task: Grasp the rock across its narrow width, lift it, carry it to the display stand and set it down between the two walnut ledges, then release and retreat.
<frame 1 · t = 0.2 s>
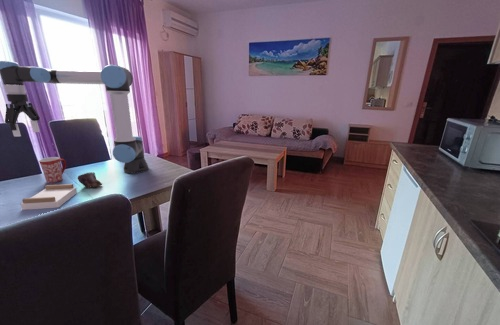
hand: (27, 134, 122), 28 cm above the table, fingers open, 13 cm apart
rock: (90, 186, 125), on the table
mug: (58, 180, 133), on the table
display stand: (52, 200, 108), on the table
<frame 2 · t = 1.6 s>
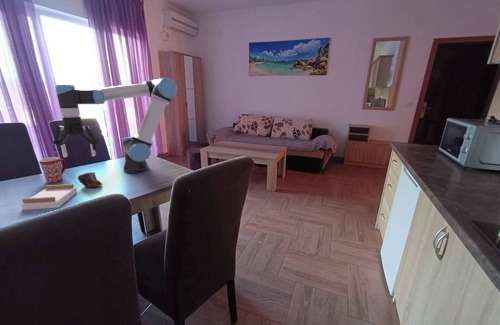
hand: (80, 156, 120), 17 cm above the table, fingers open, 13 cm apart
nothing on the table moved.
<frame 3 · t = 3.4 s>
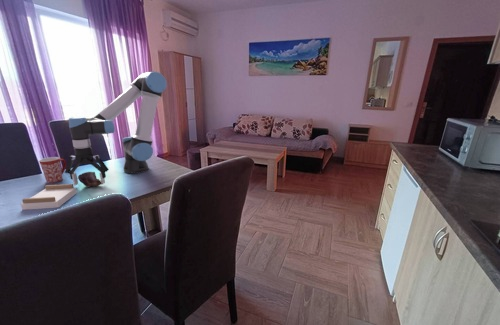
hand: (89, 184, 124), 1 cm above the table, fingers open, 13 cm apart
nothing on the table moved.
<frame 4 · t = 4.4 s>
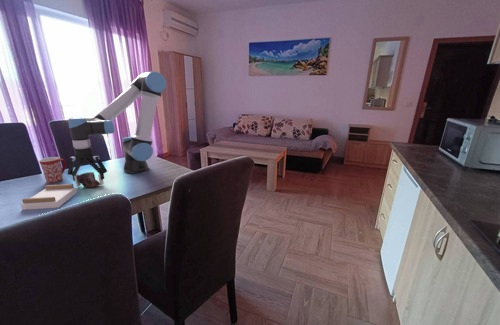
hand: (90, 185, 125), 1 cm above the table, fingers closed on rock, 11 cm apart
rock: (89, 186, 125), on the table, touching gripper
everything else where it was.
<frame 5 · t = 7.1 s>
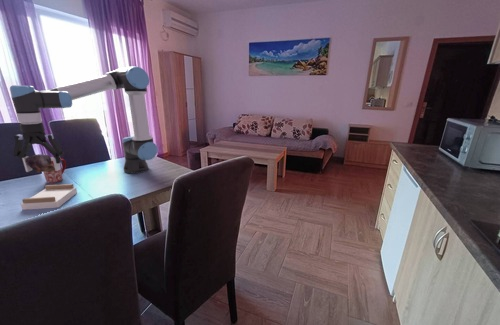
hand: (43, 170, 103), 16 cm above the table, fingers closed on rock, 11 cm apart
rock: (43, 171, 104), point 15 cm above the table, touching gripper
everything else where it was.
when the fingers open (5 cm above the table, at t = 9.9 s): rock drops 1 cm, resting on display stand.
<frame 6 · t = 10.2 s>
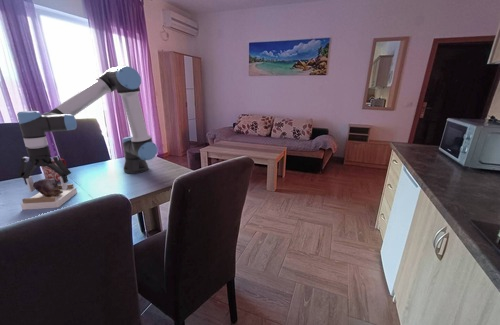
hand: (49, 189, 106), 6 cm above the table, fingers open, 13 cm apart
rock: (50, 195, 108), point 3 cm above the table, touching display stand
everything else where it was.
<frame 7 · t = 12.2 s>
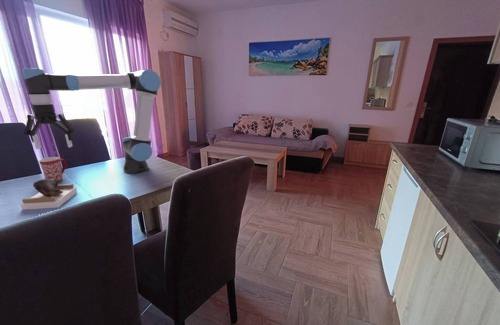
hand: (54, 147, 111), 24 cm above the table, fingers open, 13 cm apart
nothing on the table moved.
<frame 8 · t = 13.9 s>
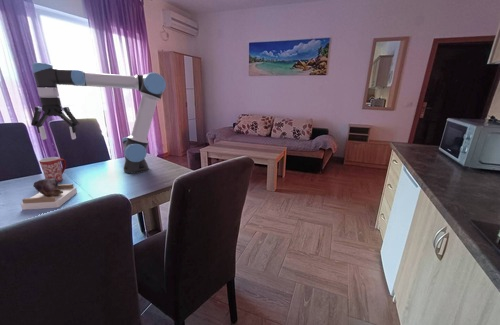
hand: (59, 139, 117), 27 cm above the table, fingers open, 13 cm apart
nothing on the table moved.
at the end: rock inside the target area on the display stand (0.6 cm from its centre), point 2.8 cm above the display stand's base; rock touching display stand; the gripper is holding nothing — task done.
